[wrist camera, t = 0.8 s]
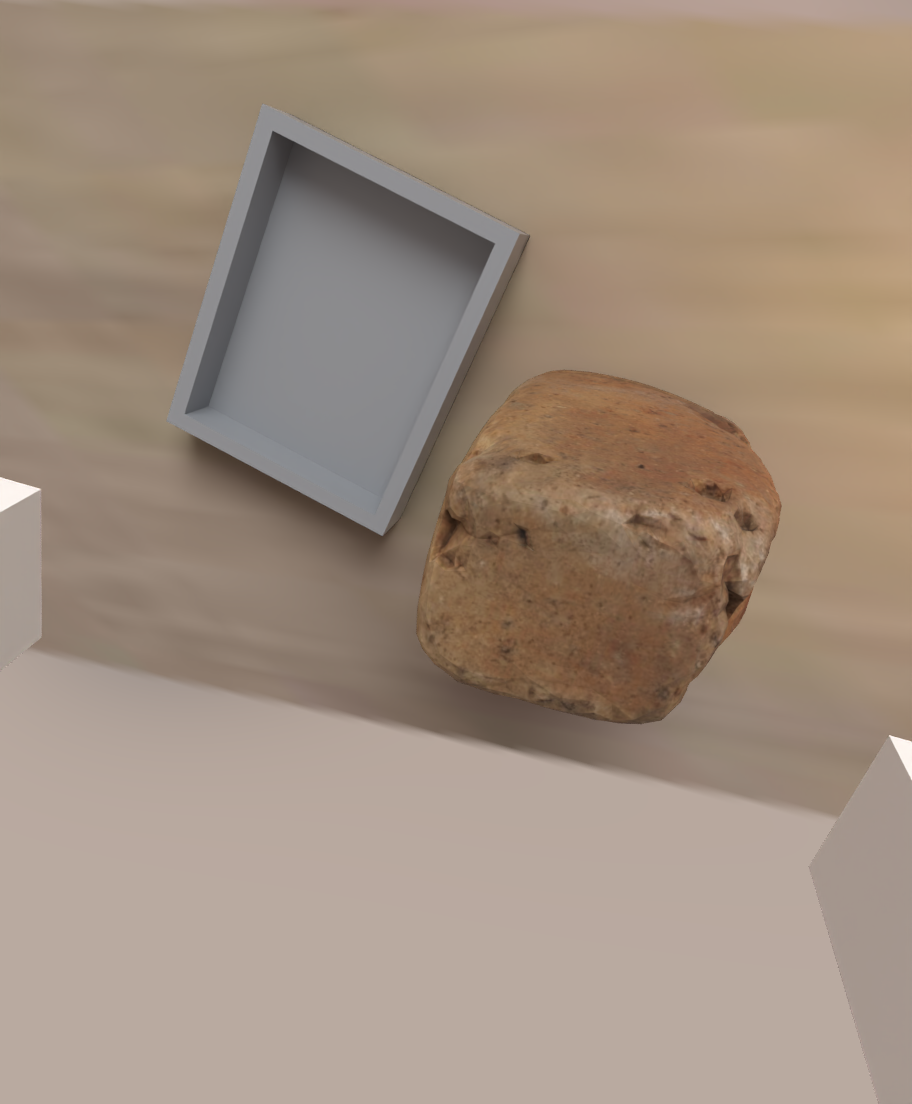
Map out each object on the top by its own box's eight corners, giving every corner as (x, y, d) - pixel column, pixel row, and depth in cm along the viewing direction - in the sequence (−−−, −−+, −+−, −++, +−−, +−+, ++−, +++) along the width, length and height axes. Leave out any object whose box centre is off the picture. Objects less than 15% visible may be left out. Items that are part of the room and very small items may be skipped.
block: (503, 497, 42) (382, 684, 23) (533, 351, 39) (422, 435, 21) (715, 547, 40) (762, 792, 22) (762, 399, 37) (861, 537, 19)
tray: (529, 235, 37) (519, 233, 34) (399, 518, 43) (382, 536, 41) (291, 114, 38) (262, 103, 35) (197, 410, 44) (166, 420, 41)
